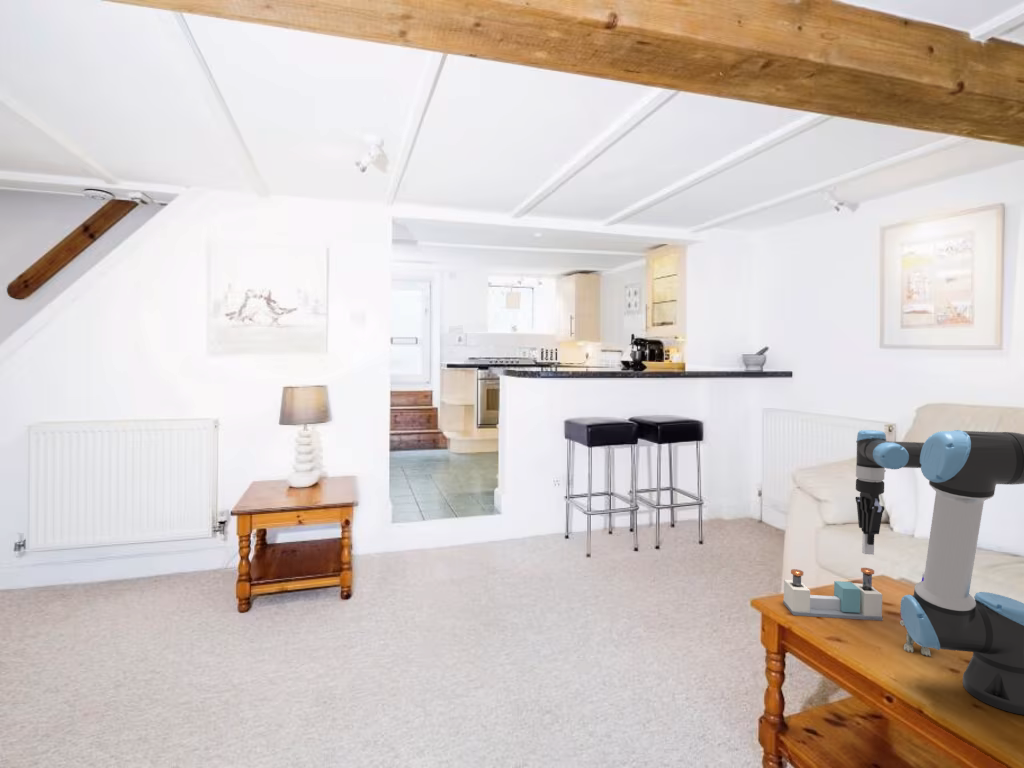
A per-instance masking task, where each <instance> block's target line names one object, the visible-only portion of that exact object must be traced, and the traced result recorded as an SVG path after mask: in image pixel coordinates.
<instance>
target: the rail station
mask: <svg viewBox="0 0 1024 768" xmlns="http://www.w3.org/2000/svg"><path fill="white" fill-rule="evenodd" d="M852 583H853V582H852ZM853 584H854V585H855V586H857V587H858V588H859V589H860V613H855V612H842V611H841V610H840V605H841V599H840V598H839V597H838V596H834V595H819V594H818V595H817V594H816V595H815V594H811V589H809V588H808V587H807V585H805V583H803V581H801V587H793V579H784V580H783V600H782V604H784V606H785V607H786V608H787V609H788V610H789V612H790V613H791V614H792V615H793V616H800V617H816V618H830V619H831V618H832V619H833V618H834V619H847V620H848V619H849V620H863V621H865V620H868V621H881V622H882V621H884V618H883V616H882V615H883V593H881V592H880V591H879V590H877V589H876V588H875V587H874V586H872V591H864V590H863V583H857V582H856V583H855V582H854V583H853Z"/></svg>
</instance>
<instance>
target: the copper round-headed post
mask: <svg viewBox="0 0 1024 768" xmlns="http://www.w3.org/2000/svg"><path fill="white" fill-rule="evenodd" d="M790 574H792V580H793V587H801V582H802V577H803V576H804V571H803V570H801V569H795V568H792V569H790Z"/></svg>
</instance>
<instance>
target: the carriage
mask: <svg viewBox="0 0 1024 768" xmlns="http://www.w3.org/2000/svg"><path fill="white" fill-rule="evenodd" d="M833 586H834V587H833V596H838V597H839V598H840V599H841V605H840V610H841V611H842V612H855V613H860V589H859V588H858V587H857V586H855V585H854V584H853V582H852V581H841V580H835V581H834V584H833Z"/></svg>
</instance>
